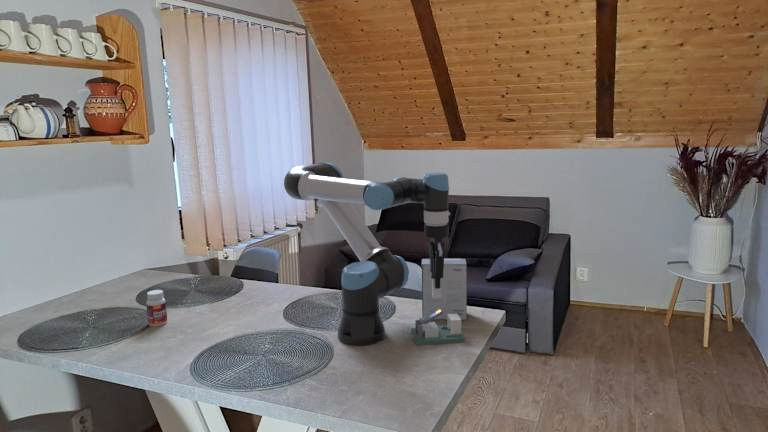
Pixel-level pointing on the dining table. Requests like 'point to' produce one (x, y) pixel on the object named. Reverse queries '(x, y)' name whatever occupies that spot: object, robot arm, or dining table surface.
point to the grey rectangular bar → (430, 318)
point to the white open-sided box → (454, 323)
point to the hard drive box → (446, 289)
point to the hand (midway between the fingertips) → (436, 297)
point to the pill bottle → (156, 308)
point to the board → (434, 340)
